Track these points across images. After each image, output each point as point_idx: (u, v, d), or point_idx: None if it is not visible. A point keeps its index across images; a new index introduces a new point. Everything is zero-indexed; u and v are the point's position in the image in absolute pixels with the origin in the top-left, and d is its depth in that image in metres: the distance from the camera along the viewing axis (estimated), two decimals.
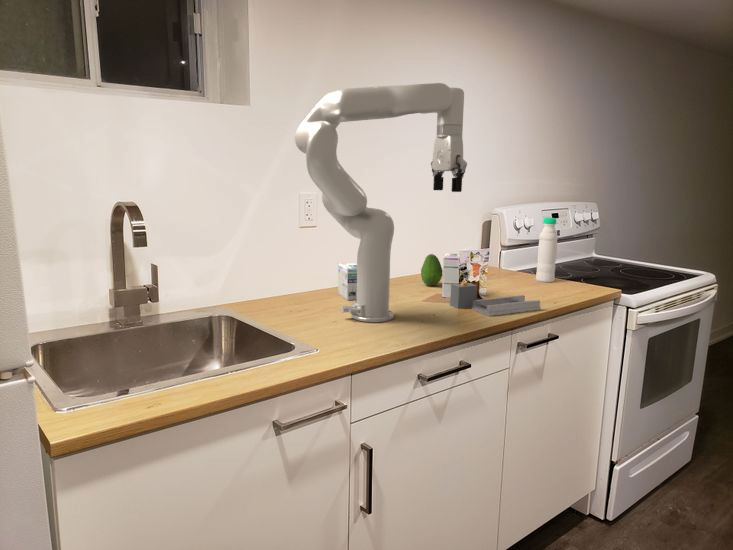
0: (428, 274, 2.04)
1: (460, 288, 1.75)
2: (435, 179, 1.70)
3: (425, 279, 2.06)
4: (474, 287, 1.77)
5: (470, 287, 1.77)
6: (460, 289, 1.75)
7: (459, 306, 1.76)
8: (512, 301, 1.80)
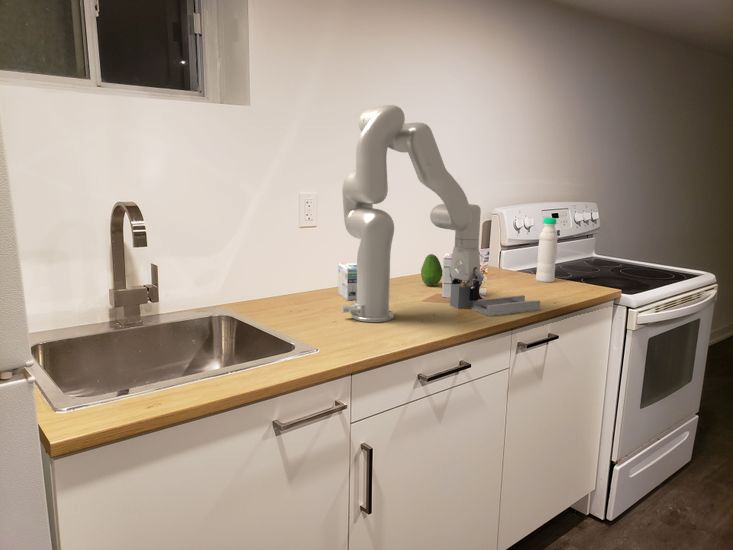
0: (428, 274, 2.04)
1: (460, 288, 1.75)
2: None
3: (425, 279, 2.06)
4: None
5: (470, 287, 1.77)
6: (460, 289, 1.75)
7: (459, 306, 1.76)
8: (512, 301, 1.80)
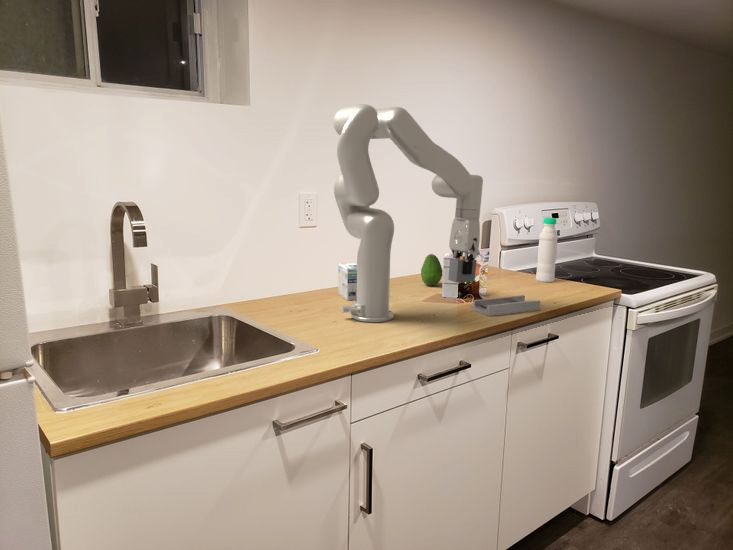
0: (428, 274, 2.04)
1: (459, 261, 1.73)
2: None
3: (425, 279, 2.06)
4: None
5: None
6: (459, 262, 1.73)
7: (457, 280, 1.74)
8: (512, 301, 1.80)
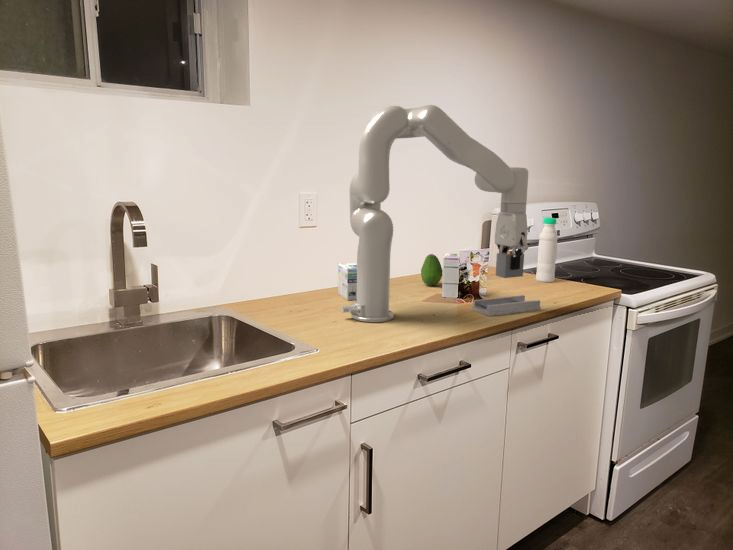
0: (428, 274, 2.04)
1: (507, 256, 1.69)
2: None
3: (425, 279, 2.06)
4: (521, 256, 1.72)
5: None
6: (507, 257, 1.69)
7: (506, 275, 1.70)
8: (512, 301, 1.80)
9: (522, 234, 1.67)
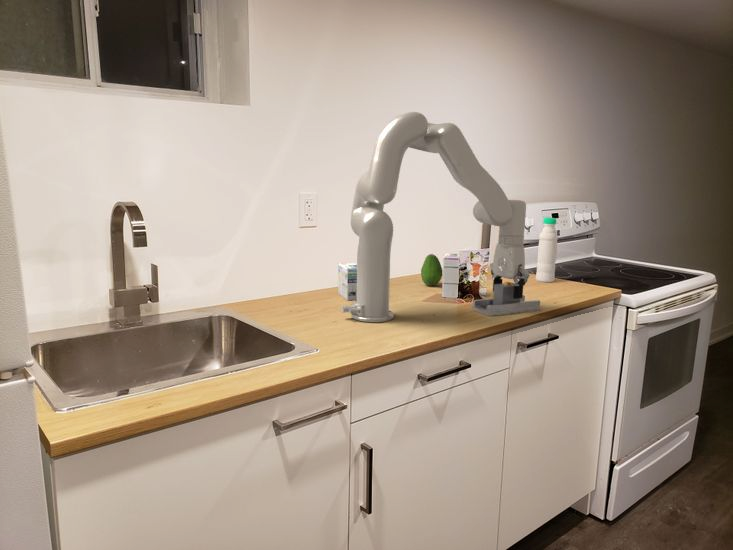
0: (428, 274, 2.04)
1: (504, 288, 1.71)
2: (495, 282, 1.78)
3: (425, 279, 2.06)
4: None
5: None
6: (504, 289, 1.71)
7: None
8: None
9: (520, 264, 1.69)
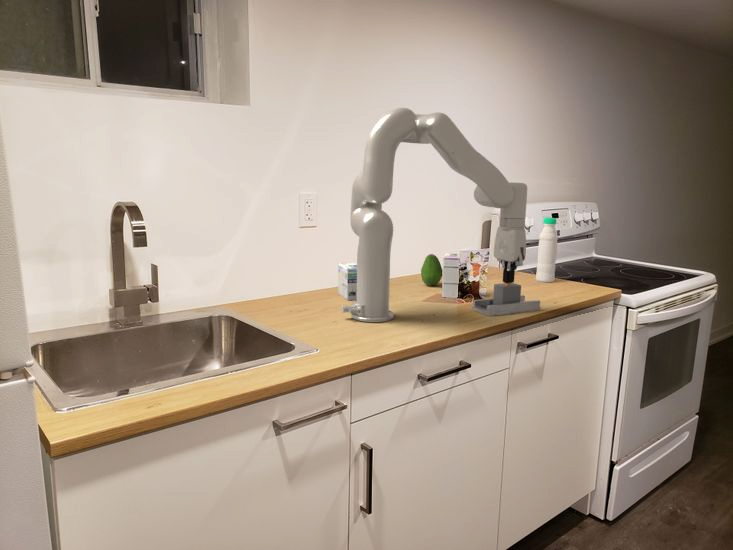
0: (428, 274, 2.04)
1: (504, 288, 1.71)
2: (505, 272, 1.73)
3: (425, 279, 2.06)
4: (518, 287, 1.73)
5: (514, 287, 1.73)
6: (504, 289, 1.71)
7: None
8: None
9: (520, 250, 1.68)
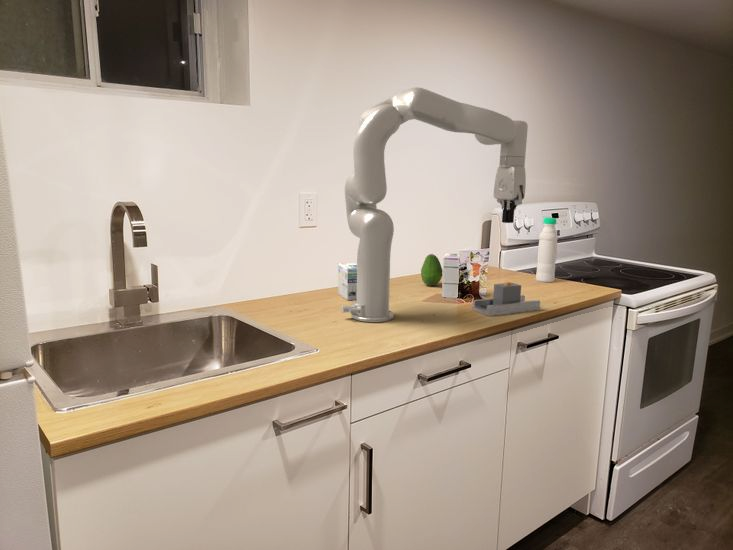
0: (428, 274, 2.04)
1: (504, 288, 1.71)
2: (504, 212, 1.73)
3: (425, 279, 2.06)
4: (518, 287, 1.73)
5: (514, 287, 1.73)
6: (504, 289, 1.71)
7: None
8: None
9: (520, 188, 1.68)
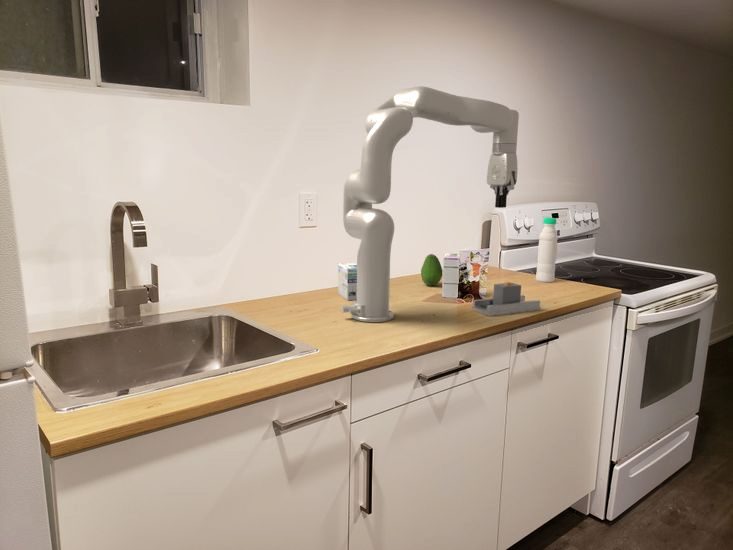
0: (428, 274, 2.04)
1: (504, 288, 1.71)
2: (497, 197, 1.81)
3: (425, 279, 2.06)
4: (518, 287, 1.73)
5: (514, 287, 1.73)
6: (504, 289, 1.71)
7: None
8: None
9: (512, 174, 1.77)
